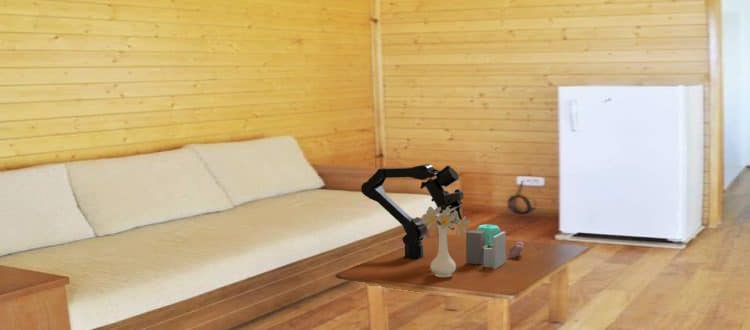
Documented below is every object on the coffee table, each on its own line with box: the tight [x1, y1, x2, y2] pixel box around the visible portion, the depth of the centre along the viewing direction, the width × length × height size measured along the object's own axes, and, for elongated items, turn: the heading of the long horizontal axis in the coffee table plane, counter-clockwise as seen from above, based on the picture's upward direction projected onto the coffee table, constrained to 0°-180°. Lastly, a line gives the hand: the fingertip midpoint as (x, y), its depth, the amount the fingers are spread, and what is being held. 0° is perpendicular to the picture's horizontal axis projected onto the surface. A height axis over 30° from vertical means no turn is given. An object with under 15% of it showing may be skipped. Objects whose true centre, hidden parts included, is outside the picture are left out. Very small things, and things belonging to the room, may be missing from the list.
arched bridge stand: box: [483, 231, 507, 270], centre depth 327 cm, size 5×12×12 cm, turn 152°
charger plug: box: [465, 229, 489, 265], centre depth 330 cm, size 8×5×12 cm, turn 62°
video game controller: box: [508, 241, 525, 259], centre depth 342 cm, size 10×5×7 cm, turn 168°
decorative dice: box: [475, 224, 502, 248], centre depth 364 cm, size 8×8×8 cm
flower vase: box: [421, 206, 471, 278], centre depth 311 cm, size 13×18×25 cm
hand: (458, 227), depth 333 cm, fingers open, 9 cm apart
